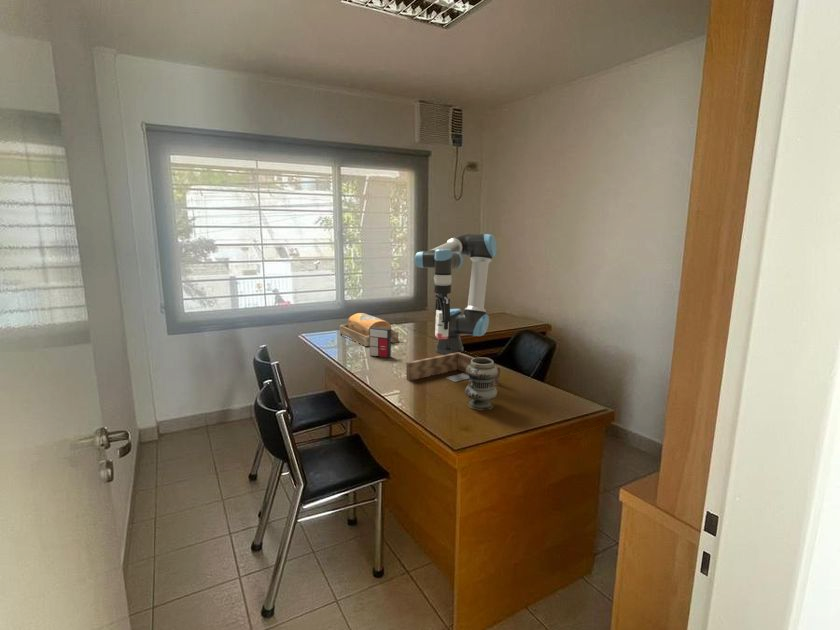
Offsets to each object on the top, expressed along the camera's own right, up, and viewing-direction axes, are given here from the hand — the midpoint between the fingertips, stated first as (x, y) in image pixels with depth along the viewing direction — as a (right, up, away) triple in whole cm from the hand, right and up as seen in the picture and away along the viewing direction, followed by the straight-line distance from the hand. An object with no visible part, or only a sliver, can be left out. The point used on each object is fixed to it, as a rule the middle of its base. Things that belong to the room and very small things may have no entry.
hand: (441, 333), depth 196 cm
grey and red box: (-31, -14, +33) cm, 47 cm away
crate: (-42, -6, +71) cm, 82 cm away
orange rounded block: (-41, -6, +70) cm, 81 cm away
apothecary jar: (+13, -26, -30) cm, 42 cm away
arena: (+4, -21, -5) cm, 22 cm away
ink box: (0, -2, 0) cm, 2 cm away
